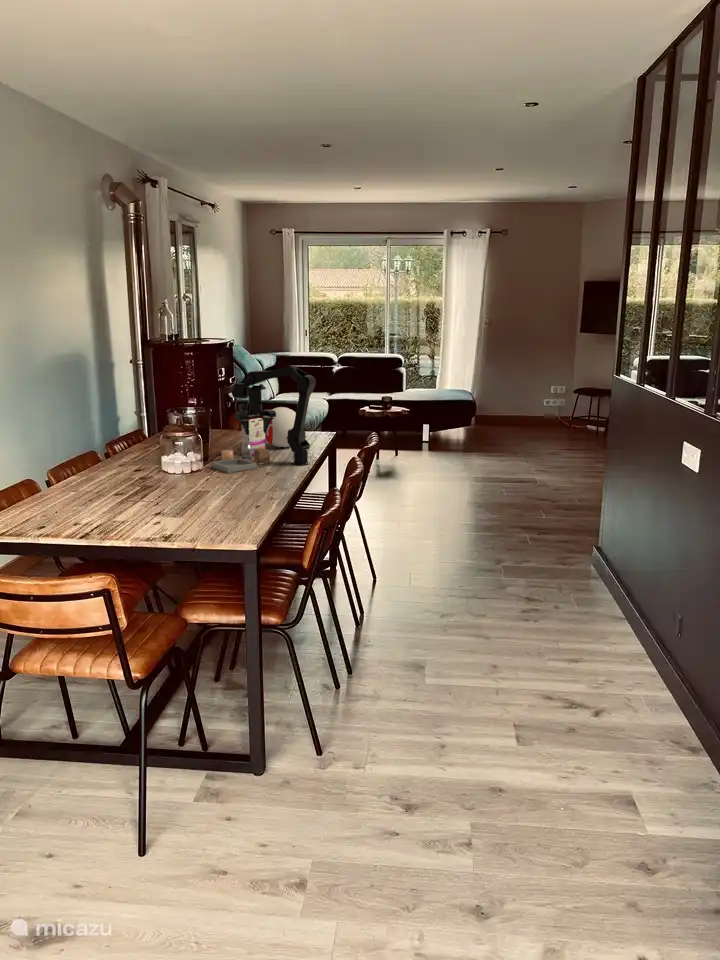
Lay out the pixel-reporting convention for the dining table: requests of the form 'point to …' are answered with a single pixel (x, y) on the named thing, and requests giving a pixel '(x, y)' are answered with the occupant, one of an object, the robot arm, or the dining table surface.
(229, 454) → the tan block
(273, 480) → the dining table surface
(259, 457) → the walnut block
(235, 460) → the charcoal tray
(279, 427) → the decorative sphere
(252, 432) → the candy bar box
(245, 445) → the steel cylinder
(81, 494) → the dining table surface
